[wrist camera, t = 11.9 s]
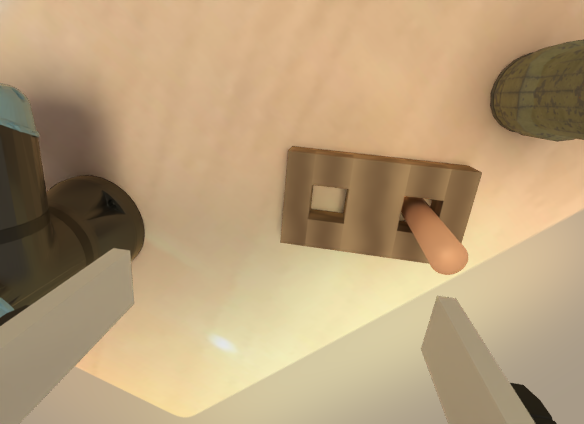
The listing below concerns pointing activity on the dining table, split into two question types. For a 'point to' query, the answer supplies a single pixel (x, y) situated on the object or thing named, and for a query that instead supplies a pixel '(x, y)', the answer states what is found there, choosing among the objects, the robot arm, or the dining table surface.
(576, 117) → the thermos
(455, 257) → the peg
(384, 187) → the hole block
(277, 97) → the dining table surface
